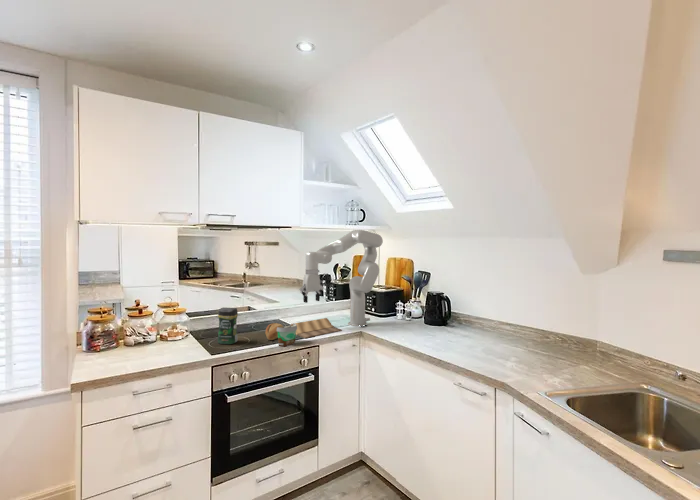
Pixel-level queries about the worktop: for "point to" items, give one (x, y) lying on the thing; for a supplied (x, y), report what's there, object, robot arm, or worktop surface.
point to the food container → (286, 335)
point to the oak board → (313, 325)
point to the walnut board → (319, 332)
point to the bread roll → (272, 331)
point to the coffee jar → (227, 325)
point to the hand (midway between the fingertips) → (311, 301)
